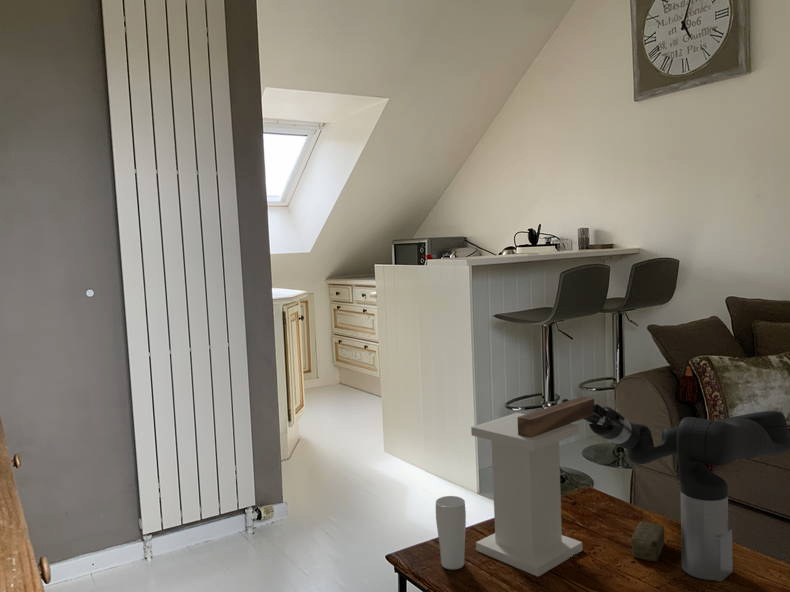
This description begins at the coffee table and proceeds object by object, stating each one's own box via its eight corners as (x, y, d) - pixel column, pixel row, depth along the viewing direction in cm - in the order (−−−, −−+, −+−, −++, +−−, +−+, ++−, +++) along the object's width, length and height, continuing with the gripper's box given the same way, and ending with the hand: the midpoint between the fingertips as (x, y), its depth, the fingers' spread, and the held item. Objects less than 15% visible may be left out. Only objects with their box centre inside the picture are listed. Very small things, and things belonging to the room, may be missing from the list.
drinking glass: (472, 561, 151) (469, 498, 150) (460, 575, 145) (457, 509, 144) (446, 555, 154) (443, 493, 153) (432, 568, 148) (430, 504, 147)
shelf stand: (582, 550, 154) (578, 425, 151) (537, 576, 143) (533, 441, 140) (521, 527, 167) (517, 412, 165) (476, 550, 156) (471, 427, 154)
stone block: (630, 559, 149) (630, 538, 148) (639, 539, 159) (639, 519, 158) (657, 564, 146) (657, 542, 145) (665, 543, 156) (665, 523, 155)
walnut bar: (594, 414, 160) (594, 398, 159) (530, 437, 143) (530, 419, 143) (581, 412, 162) (581, 396, 162) (518, 434, 146) (517, 417, 146)
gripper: (632, 445, 162) (600, 424, 152) (582, 434, 172) (549, 415, 163) (640, 416, 164) (608, 394, 154) (590, 407, 174) (557, 386, 165)
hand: (578, 405), depth 158 cm, fingers open, 8 cm apart
